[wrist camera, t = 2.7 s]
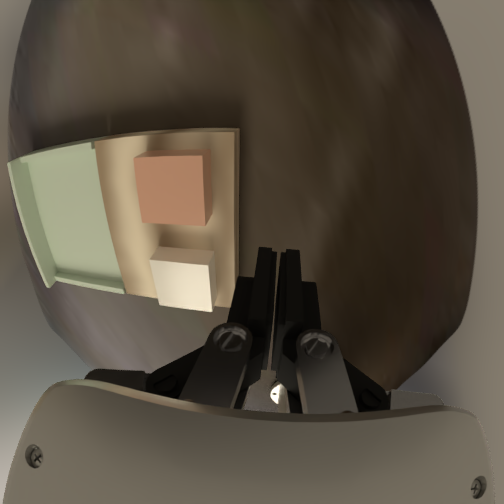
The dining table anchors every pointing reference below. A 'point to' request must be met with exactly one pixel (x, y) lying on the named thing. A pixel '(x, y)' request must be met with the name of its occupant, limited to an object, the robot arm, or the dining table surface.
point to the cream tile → (185, 278)
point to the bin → (66, 215)
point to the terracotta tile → (174, 186)
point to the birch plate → (171, 235)
